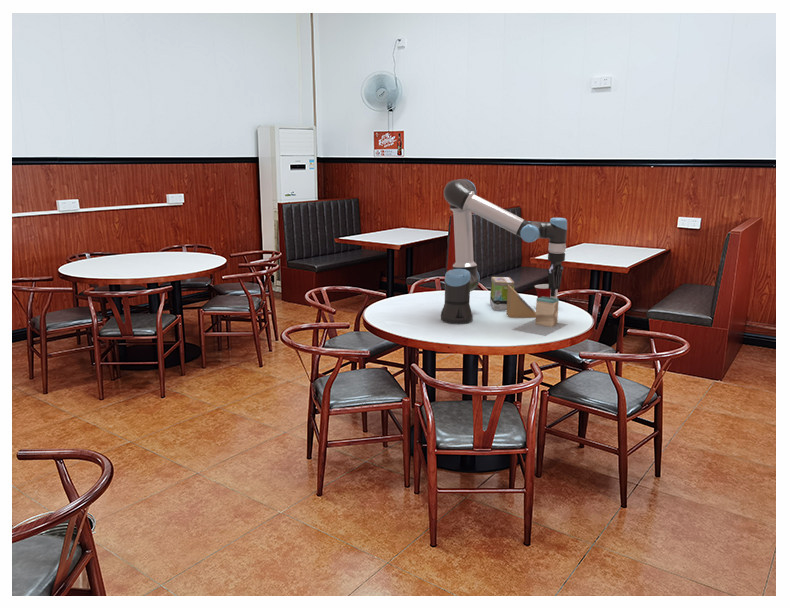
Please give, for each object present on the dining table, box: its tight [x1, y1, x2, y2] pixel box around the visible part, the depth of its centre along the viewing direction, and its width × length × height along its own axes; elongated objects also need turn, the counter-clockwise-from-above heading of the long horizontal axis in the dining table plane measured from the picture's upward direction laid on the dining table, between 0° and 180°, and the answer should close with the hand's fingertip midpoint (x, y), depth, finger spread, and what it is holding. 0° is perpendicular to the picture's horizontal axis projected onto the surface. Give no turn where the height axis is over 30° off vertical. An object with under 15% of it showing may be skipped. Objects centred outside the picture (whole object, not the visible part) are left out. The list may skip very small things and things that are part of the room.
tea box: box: [489, 276, 515, 311], centre depth 316 cm, size 15×10×15 cm
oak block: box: [534, 296, 560, 327], centre depth 282 cm, size 6×8×12 cm
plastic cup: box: [534, 283, 551, 299], centre depth 314 cm, size 11×11×12 cm
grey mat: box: [511, 319, 569, 337], centre depth 279 cm, size 24×16×1 cm, turn 142°
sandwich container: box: [506, 285, 536, 319], centre depth 298 cm, size 9×15×15 cm, turn 90°
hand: (553, 302), depth 287 cm, fingers closed
